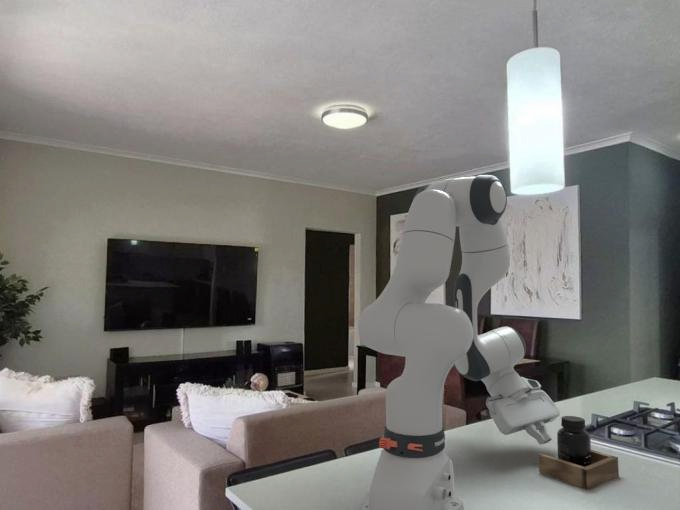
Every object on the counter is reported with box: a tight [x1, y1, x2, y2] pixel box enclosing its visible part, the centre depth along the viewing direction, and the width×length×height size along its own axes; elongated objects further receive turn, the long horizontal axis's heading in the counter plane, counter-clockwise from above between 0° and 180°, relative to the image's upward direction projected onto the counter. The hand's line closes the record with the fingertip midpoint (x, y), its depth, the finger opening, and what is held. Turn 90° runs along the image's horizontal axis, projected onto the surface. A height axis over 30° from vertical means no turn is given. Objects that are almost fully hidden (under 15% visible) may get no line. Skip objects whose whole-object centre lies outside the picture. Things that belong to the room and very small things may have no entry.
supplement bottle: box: [556, 415, 592, 467], centre depth 110 cm, size 7×7×12 cm
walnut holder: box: [538, 449, 620, 491], centre depth 109 cm, size 11×12×4 cm
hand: (546, 442), depth 115 cm, fingers closed
